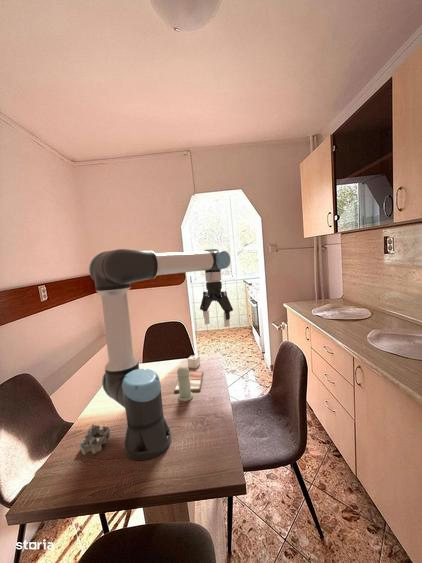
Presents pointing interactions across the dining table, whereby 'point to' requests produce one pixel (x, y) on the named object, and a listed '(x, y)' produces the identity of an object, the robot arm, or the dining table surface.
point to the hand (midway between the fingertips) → (216, 325)
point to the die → (193, 361)
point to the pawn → (184, 384)
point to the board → (193, 382)
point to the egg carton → (94, 439)
